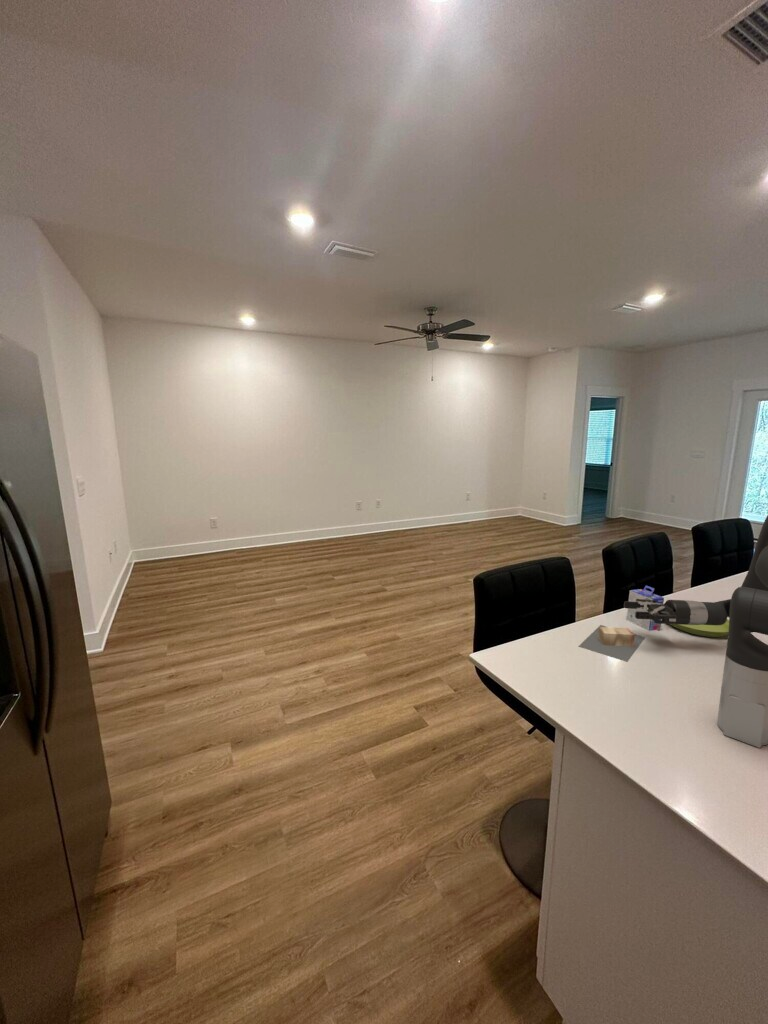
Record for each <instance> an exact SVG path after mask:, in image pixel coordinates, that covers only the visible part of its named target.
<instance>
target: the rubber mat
mask: <svg viewBox="0 0 768 1024" xmlns="http://www.w3.org/2000/svg"><path fill="white" fill-rule="evenodd" d="M599 627H607V626H605V625H602V624H600V625H599V626H598V627H597V628H596V629H594V631H593V632H592V633H590V634H589V636H587V637H586V638H585V639H584V641H582V642H581V643H580V644H579V645H578V647H579V648H582V649H584V650H585V649H586V650H589V651H591V652H595V653H597V654H601V655H603V656H606V657H610V658H613V659H617V660H620V661H623V662H626V663H628V662H629V661H630V659H631V657H632V656H633V655H634V653H636V651H637V650H638V648H639V647H640V645H641V644H642V643H643V642H644V640H645V639H646V636H644V635H638V634H635V633H633V634H634V635H635V639H634V647H630V646H613V645H603V643H602V642H601V641H600V640H599V638H598V633H599Z"/></svg>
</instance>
